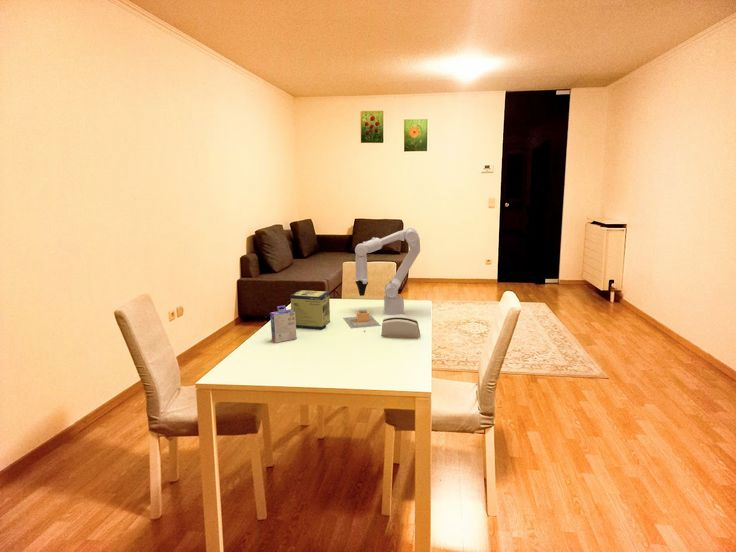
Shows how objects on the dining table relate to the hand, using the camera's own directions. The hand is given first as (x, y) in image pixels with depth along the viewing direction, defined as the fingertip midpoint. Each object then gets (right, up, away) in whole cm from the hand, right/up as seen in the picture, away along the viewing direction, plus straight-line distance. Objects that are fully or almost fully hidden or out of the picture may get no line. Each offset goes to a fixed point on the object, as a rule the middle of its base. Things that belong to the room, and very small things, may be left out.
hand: (361, 295), depth 253 cm
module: (+1, -12, -18) cm, 21 cm away
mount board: (0, -13, -13) cm, 18 cm away
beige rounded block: (+17, -17, -32) cm, 40 cm away
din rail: (+1, -13, -17) cm, 22 cm away
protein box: (-23, -14, -15) cm, 31 cm away
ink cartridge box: (-33, -18, -34) cm, 51 cm away
